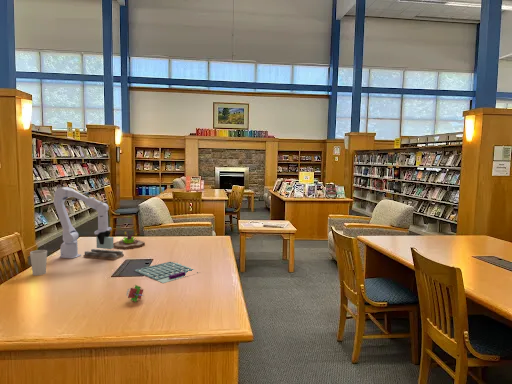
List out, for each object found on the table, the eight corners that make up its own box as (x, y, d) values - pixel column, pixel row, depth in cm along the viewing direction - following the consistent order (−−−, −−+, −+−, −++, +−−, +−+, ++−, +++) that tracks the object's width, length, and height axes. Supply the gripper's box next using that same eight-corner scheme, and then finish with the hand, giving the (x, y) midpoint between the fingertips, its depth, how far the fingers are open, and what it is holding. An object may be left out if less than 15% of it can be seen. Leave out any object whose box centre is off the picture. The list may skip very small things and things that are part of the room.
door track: (83, 257, 228) (83, 252, 228) (94, 253, 238) (93, 248, 237) (114, 260, 223) (114, 254, 223) (123, 255, 233) (123, 251, 232)
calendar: (174, 262, 222) (174, 259, 221) (204, 272, 203) (204, 268, 203) (134, 272, 202) (134, 268, 202) (163, 284, 183) (163, 279, 183)
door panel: (113, 248, 230) (113, 237, 229) (110, 249, 227) (110, 238, 226) (99, 246, 232) (99, 236, 232) (96, 247, 229) (96, 236, 229)
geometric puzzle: (141, 290, 166) (132, 279, 162) (150, 294, 162) (141, 283, 158) (130, 303, 162) (120, 292, 158) (139, 307, 158) (129, 296, 154)
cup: (28, 273, 195) (27, 251, 194) (45, 270, 201) (44, 249, 200) (33, 277, 190) (32, 254, 188) (50, 273, 195) (49, 251, 194)
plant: (107, 246, 257) (107, 231, 256) (131, 241, 273) (131, 227, 272) (125, 251, 246) (124, 235, 245) (148, 245, 262) (148, 230, 260)
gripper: (101, 224, 220) (101, 246, 222) (115, 220, 234) (116, 241, 236) (91, 224, 222) (91, 245, 223) (106, 220, 236) (106, 240, 237)
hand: (103, 243), depth 230 cm, fingers closed on door panel, 3 cm apart
